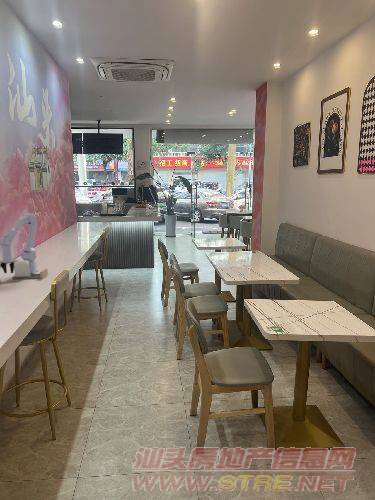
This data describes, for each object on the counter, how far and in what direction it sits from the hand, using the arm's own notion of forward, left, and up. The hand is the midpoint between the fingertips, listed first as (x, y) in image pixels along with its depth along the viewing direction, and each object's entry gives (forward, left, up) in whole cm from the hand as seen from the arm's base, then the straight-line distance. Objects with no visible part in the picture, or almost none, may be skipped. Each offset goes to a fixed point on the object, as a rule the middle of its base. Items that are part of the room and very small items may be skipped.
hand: (8, 273), depth 278 cm
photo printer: (0, +9, -4) cm, 10 cm away
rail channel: (0, +14, -4) cm, 14 cm away
